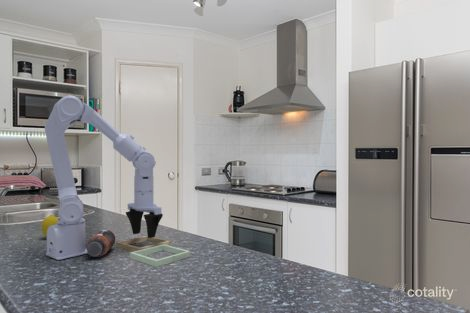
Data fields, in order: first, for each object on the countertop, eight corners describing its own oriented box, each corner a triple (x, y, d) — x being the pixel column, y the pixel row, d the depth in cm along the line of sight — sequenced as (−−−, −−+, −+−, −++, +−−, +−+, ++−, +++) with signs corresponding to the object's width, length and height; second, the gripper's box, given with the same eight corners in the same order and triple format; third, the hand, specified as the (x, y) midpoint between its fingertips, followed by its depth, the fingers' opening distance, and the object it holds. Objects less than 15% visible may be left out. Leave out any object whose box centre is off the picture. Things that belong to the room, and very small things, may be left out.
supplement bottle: (101, 225, 104) (89, 234, 93) (119, 234, 104) (110, 243, 93) (91, 243, 104) (78, 254, 92) (109, 252, 104) (99, 264, 93)
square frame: (156, 267, 87) (156, 261, 87) (129, 258, 95) (129, 252, 95) (190, 256, 96) (190, 251, 96) (163, 249, 104) (163, 244, 104)
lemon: (63, 237, 119) (63, 213, 119) (53, 241, 113) (53, 216, 113) (48, 236, 119) (48, 213, 119) (37, 240, 114) (37, 216, 114)
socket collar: (139, 254, 99) (139, 248, 99) (116, 247, 106) (116, 242, 106) (170, 245, 108) (170, 241, 108) (147, 239, 115) (147, 235, 115)
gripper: (169, 191, 105) (169, 236, 105) (140, 188, 114) (140, 229, 115) (150, 193, 100) (150, 241, 100) (121, 190, 109) (121, 233, 109)
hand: (143, 235), depth 107 cm, fingers open, 7 cm apart
